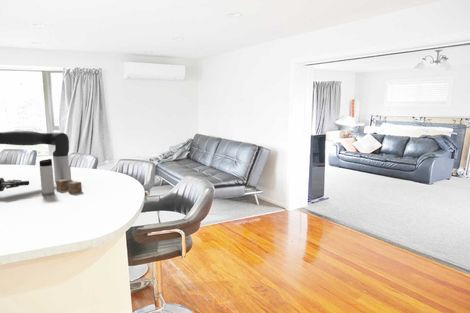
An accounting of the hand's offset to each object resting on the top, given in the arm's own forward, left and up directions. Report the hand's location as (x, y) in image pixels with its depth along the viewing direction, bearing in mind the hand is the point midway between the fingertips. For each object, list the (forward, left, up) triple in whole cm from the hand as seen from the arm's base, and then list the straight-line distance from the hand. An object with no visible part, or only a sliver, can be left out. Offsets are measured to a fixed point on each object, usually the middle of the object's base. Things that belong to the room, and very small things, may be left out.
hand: (28, 182), depth 184 cm
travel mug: (-7, +6, -7) cm, 12 cm away
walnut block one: (-17, +16, -7) cm, 25 cm away
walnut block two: (-17, +4, -7) cm, 19 cm away
